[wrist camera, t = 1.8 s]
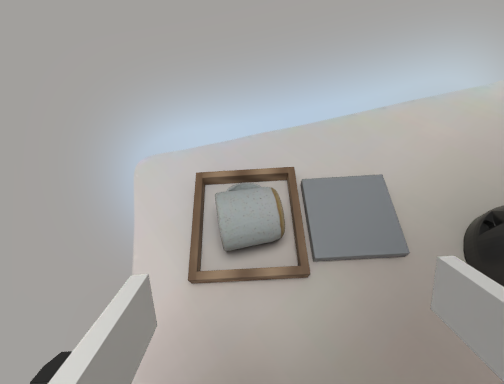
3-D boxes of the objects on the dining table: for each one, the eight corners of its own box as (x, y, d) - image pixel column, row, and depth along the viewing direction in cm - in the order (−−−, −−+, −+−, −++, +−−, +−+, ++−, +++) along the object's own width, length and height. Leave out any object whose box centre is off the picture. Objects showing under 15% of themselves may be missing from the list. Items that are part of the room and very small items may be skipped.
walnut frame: (292, 174, 42) (294, 166, 40) (307, 277, 34) (310, 273, 32) (199, 179, 42) (196, 172, 41) (191, 283, 34) (187, 280, 32)
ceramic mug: (285, 246, 36) (289, 223, 30) (226, 259, 36) (218, 238, 29) (267, 183, 42) (267, 151, 35) (215, 193, 41) (206, 163, 35)
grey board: (378, 179, 41) (382, 174, 40) (404, 256, 35) (409, 252, 34) (300, 184, 41) (302, 179, 40) (313, 261, 35) (315, 258, 34)
